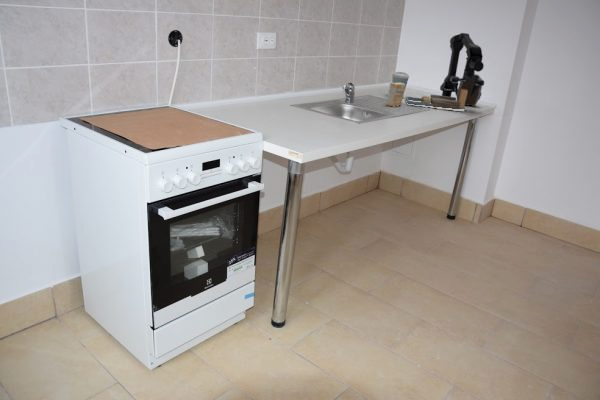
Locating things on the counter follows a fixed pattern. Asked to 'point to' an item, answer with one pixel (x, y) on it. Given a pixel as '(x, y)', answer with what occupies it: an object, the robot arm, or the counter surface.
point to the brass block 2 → (426, 100)
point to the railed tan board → (444, 102)
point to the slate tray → (416, 102)
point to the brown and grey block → (462, 98)
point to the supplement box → (395, 94)
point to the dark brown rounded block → (469, 93)
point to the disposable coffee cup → (400, 78)
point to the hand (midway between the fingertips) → (463, 95)
